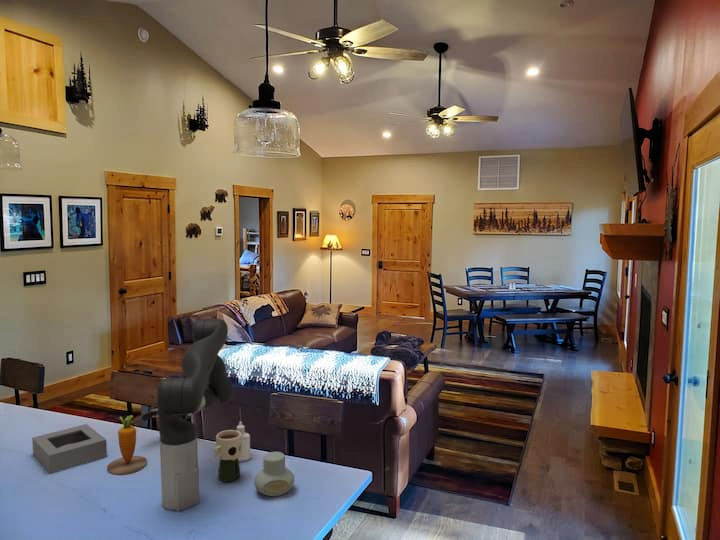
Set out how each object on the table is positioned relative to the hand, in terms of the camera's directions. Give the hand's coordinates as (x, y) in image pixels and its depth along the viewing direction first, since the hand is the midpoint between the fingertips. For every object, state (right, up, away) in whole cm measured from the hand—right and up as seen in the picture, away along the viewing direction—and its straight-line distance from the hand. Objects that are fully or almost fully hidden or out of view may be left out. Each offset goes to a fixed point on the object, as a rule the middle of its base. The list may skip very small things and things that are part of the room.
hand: (152, 420), depth 167 cm
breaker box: (-26, -11, -2) cm, 28 cm away
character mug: (+28, -13, -15) cm, 35 cm away
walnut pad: (-4, -11, -9) cm, 15 cm away
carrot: (-4, -11, -8) cm, 14 cm away
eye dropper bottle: (+29, -11, -3) cm, 31 cm away
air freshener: (+42, -13, -22) cm, 50 cm away
